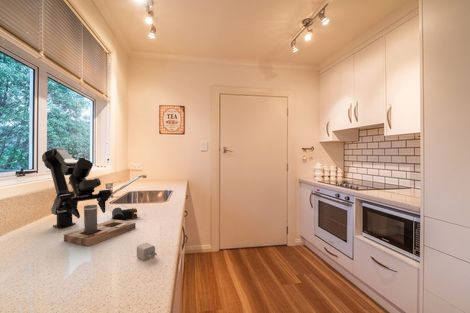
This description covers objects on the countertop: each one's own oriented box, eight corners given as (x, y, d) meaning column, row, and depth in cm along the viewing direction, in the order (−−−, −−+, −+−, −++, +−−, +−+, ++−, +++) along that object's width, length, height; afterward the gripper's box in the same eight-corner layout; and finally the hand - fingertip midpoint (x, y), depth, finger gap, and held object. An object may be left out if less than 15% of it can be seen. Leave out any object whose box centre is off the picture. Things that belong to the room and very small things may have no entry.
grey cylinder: (81, 240, 88) (80, 207, 88) (89, 235, 93) (89, 204, 93) (92, 240, 88) (91, 207, 88) (100, 236, 93) (99, 204, 92)
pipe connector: (135, 205, 126) (138, 211, 113) (135, 214, 127) (138, 221, 113) (111, 207, 121) (112, 214, 108) (112, 217, 121) (112, 225, 108)
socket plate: (63, 240, 88) (63, 233, 88) (113, 224, 108) (113, 218, 108) (88, 246, 82) (88, 238, 82) (135, 227, 103) (135, 221, 103)
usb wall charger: (148, 253, 77) (148, 242, 76) (159, 259, 72) (159, 247, 72) (136, 257, 73) (136, 245, 73) (147, 264, 69) (147, 251, 69)
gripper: (58, 174, 85) (70, 207, 79) (109, 170, 100) (122, 198, 94) (51, 192, 89) (62, 225, 83) (100, 187, 105) (113, 214, 99)
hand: (92, 214), depth 90 cm, fingers open, 9 cm apart
